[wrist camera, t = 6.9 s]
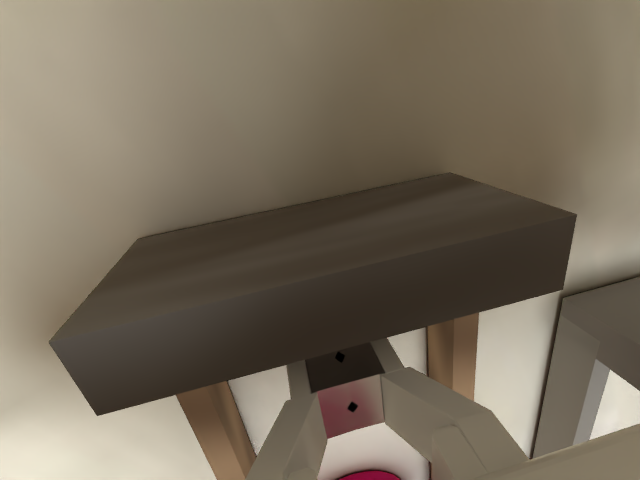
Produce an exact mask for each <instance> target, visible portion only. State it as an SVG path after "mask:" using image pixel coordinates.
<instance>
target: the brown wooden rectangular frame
mask: <svg viewBox="0 0 640 480" xmlns="http://www.w3.org/2000/svg"><path fill="white" fill-rule="evenodd" d="M576 217H577V214H574V213H571V212H568V211H565V210H562V209H559V208H556V207H553V206H550V205H547V204H544V203H541V202H538V201H535V200H532V199H529V198H525V197H522V196H519V195H516V194H513V193H510V192H507V191H504V190H501V189H498V188H495V187H492V186H489V185H486V184H483V183H480V182H477V181H474V180H471V179H468V178H465V177H462V176H459V175H456V174H452V173H446V174H441V175H437V176H432V177H427V178H422V179H418V180H413V181H408V182H404V183H399V184H394V185H390V186H385V187H380V188H375V189H371V190H366V191H361V192H357V193H352V194H347V195H343V196H338V197H333V198H328V199H324V200H319V201H314V202H310V203H305V204H300V205H296V206H291V207H286V208H281V209H277V210H272V211H267V212H263V213H258V214H253V215H249V216H244V217H239V218H234V219H230V220H225V221H220V222H216V223H211V224H206V225H202V226H197V227H192V228H188V229H183V230H178V231H173V232H169V233H164V234H159V235H155V236H150V237H145V238H141V239H137V241H136V242H135V243H134V244H133V245H132V246H131V247H130V249H129V250H128V251H127V252H126V253H125V254H124V256H123V257H122V258H121V259H120V260H119V261H118V262H117V264H116V265H115V266H114V267H113V268H112V269H111V271H110V272H109V273H108V274H107V275H106V276H105V277H104V279H103V280H102V281H101V282H100V283H99V284H98V286H97V287H96V288H95V289H94V290H93V291H92V292H91V294H90V295H89V296H88V297H87V298H86V299H85V301H84V302H83V303H82V304H81V305H80V306H79V307H78V309H77V310H76V311H75V312H74V313H73V314H72V316H71V317H70V318H69V319H68V320H67V321H66V323H65V324H64V325H63V326H62V327H61V328H60V329H59V331H58V332H57V333H56V334H55V335H54V336H53V338H52V339H51V340H50V341H49V344H50V345H51V347H52V348H53V350H54V351H55V353H56V354H57V356H58V357H59V359H60V360H61V362H62V363H63V365H64V366H65V368H66V369H67V371H68V372H69V374H70V376H71V377H72V379H73V380H74V382H75V383H76V385H77V386H78V388H79V389H80V391H81V392H82V394H83V395H84V397H85V398H86V400H87V401H88V403H89V404H90V406H91V407H92V409H93V410H94V412H95V414H96V415H97V416H99V415H103V414H106V413H110V412H114V411H118V410H121V409H125V408H129V407H132V406H136V405H140V404H143V403H147V402H151V401H154V400H158V399H162V398H165V397H169V396H173V395H176V396H177V399H178V401H179V403H180V405H181V407H182V409H183V411H184V413H185V415H186V417H187V419H188V421H189V423H190V425H191V427H192V429H193V431H194V433H195V435H196V437H197V440H198V442H199V444H200V446H201V448H202V450H203V452H204V454H205V456H206V458H207V460H208V462H209V464H210V466H211V468H212V470H213V472H214V474H215V476H216V479H217V480H245V479H246V477H247V475H248V473H249V471H250V469H251V467H252V465H253V463H254V461H255V459H256V457H255V454H254V451H253V449H252V446H251V444H250V441H249V438H248V436H247V433H246V431H245V428H244V425H243V423H242V420H241V418H240V415H239V412H238V410H237V407H236V405H235V402H234V399H233V397H232V394H231V392H230V389H229V386H228V384H227V381H228V380H232V379H235V378H239V377H243V376H246V375H250V374H254V373H258V372H261V371H265V370H269V369H272V368H276V367H280V366H283V365H287V364H291V363H294V362H298V361H302V360H305V359H309V358H313V357H316V356H320V355H324V354H328V353H331V352H335V351H339V350H342V349H346V348H350V347H353V346H357V345H361V344H364V343H368V342H372V341H375V340H379V339H383V338H386V337H390V336H394V335H398V334H401V333H405V332H409V331H412V330H416V329H420V328H423V327H427V326H428V363H429V378H431V379H433V380H435V381H437V382H439V383H441V384H442V385H444V386H446V387H448V388H450V389H452V390H454V391H455V392H457V393H459V394H461V395H463V396H465V397H467V398H468V399H470V400H472V401H474V386H475V370H476V353H477V336H478V320H479V312H482V311H486V310H490V309H493V308H497V307H501V306H504V305H508V304H512V303H515V302H519V301H523V300H526V299H530V298H534V297H538V296H541V295H545V294H549V293H552V292H556V291H560V290H563V286H564V281H565V276H566V270H567V265H568V260H569V254H570V249H571V244H572V238H573V233H574V228H575V222H576ZM431 480H432V463H431Z"/></svg>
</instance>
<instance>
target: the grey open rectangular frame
mask: <svg viewBox="0 0 640 480" xmlns="http://www.w3.org/2000/svg"><path fill="white" fill-rule="evenodd" d="M610 369H611V370H612V371H613V372H615V373H616V374H617V375H619V376H620V377H621V378H623V379H624V380H626V381H627V382H628V383H630V384H631V385H632V386H634V387H635V388H637V389H638V390H639V391H640V277H637V278H634V279H630V280H626V281H623V282H619V283H615V284H612V285H608V286H605V287H601V288H597V289H594V290H590V291H586V292H583V293H579V294H575V295H572V296H568V297H565V298H563V302H562V307H561V312H560V317H559V323H558V328H557V333H556V339H555V344H554V349H553V354H552V360H551V365H550V370H549V375H548V381H547V386H546V391H545V396H544V402H543V407H542V412H541V417H540V423H539V428H538V433H537V438H536V444H535V449H534V454H533V459H534V458H537V457H540V456H543V455H546V454H549V453H552V452H555V451H558V450H561V449H564V448H567V447H570V446H573V445H576V444H579V443H582V442H585V441H588V440H589V439H590V435H591V432H592V429H593V425H594V422H595V419H596V415H597V412H598V408H599V405H600V402H601V398H602V395H603V392H604V388H605V385H606V381H607V378H608V375H609V371H610Z"/></svg>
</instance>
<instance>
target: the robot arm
mask: <svg viewBox="0 0 640 480" xmlns="http://www.w3.org/2000/svg"><path fill="white" fill-rule="evenodd" d="M287 373H288V380H289V388H290V395H291V400H287V401H286V402H285V404H284V406H283V408H282V409H281V411H280V413H279V415H278V417H277V419H276V421H275V423H274V425H273V427H272V429H271V431H270V433H269V434H268V436H267V438H266V440H265V442H264V444H263V446H262V448H261V450H260V452H259V454H258V456H257V458H256V459H255V461H254V463H253V465H252V467H251V469H250V471H249V473H248V475H247V477H246V479H245V480H317V476H318V473H319V469H320V466H321V462H322V459H323V455H324V452H325V448H326V445H327V439H328V438H332V437H335V436H338V435H341V434H344V433H347V432H350V431H353V430H356V429H360V428H364V427H367V426H371V425H375V424H379V423H383V422H385V424H386V425H388V426H389V427H390V428H391V429H392V430H393V431H395V432H396V433H397V434H398V435H399V436H400V437H402V438H403V439H404V440H405V441H406V442H407V443H409V444H410V445H411V446H412V447H413V448H414V449H416V450H417V451H418V452H419V453H420V454H421V455H422V456H424V457H425V458H426V459H427V460H428V461H429V462H431V463H432V480H640V424H637V425H634V426H631V427H628V428H625V429H622V430H619V431H616V432H613V433H610V434H607V435H604V436H601V437H598V438H595V439H592V440H588V441H585V442H582V443H579V444H576V445H573V446H570V447H567V448H564V449H561V450H558V451H555V452H552V453H549V454H546V455H543V456H540V457H537V458H534V459H531V460H529V458H528V457H527V456H526V455H525V453H524V452H523V451H522V449H521V448H520V447H519V446H518V444H517V443H516V442H515V441H514V439H513V438H512V437H511V435H510V434H509V433H508V432H507V430H506V429H505V428H504V427H503V425H502V424H501V423H500V421H499V420H498V419H497V418H496V416H495V415H494V414H493V412H492V411H491V410H489V409H487V408H485V407H483V406H481V405H480V404H478V403H476V402H474V401H472V400H470V399H468V398H467V397H465V396H463V395H461V394H459V393H457V392H455V391H454V390H452V389H450V388H448V387H446V386H444V385H442V384H441V383H439V382H437V381H435V380H433V379H431V378H429V377H428V376H426V375H424V374H422V373H420V372H418V371H416V370H414V369H413V368H411V367H407V368H404V366H403V364H402V363H401V361H400V359H399V358H398V356H397V354H396V352H395V351H394V349H393V347H392V346H391V344H390V342H389V341H388V339H387V337H386V338H383V339H379V340H375V341H372V342H368V343H364V344H361V345H357V346H353V347H350V348H346V349H342V350H339V351H335V352H331V353H328V354H324V355H320V356H316V357H313V358H309V359H305V360H302V361H298V362H294V363H291V364H287Z"/></svg>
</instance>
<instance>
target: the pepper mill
mask: <svg viewBox="0 0 640 480" xmlns="http://www.w3.org/2000/svg"><path fill="white" fill-rule="evenodd" d="M339 480H400V479H399V478H398V477H396V476H395V475H393V474H390V473H386V472H382V471H366V472H360V473H355V474H351V475H349V476H346V477H344V478H341V479H339Z"/></svg>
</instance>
